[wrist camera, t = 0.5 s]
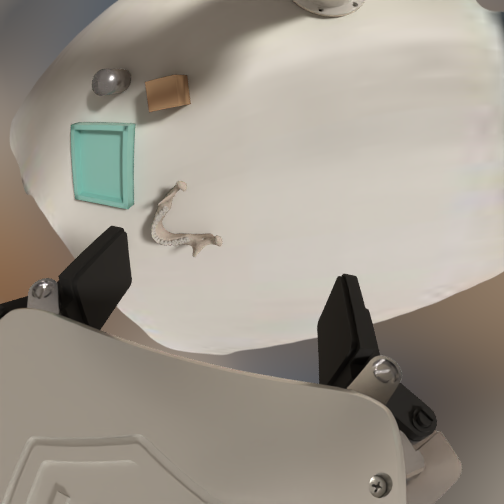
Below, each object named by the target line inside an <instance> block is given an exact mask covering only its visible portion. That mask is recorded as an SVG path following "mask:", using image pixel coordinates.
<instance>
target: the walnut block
mask: <svg viewBox="0 0 504 504" xmlns="http://www.w3.org/2000/svg"><path fill="white" fill-rule="evenodd" d="M145 86H146V93H147V100H148V107H149V112H152V111H157V110H162V109H166V108H171V107H177V106H182V105H187V104H191V103H190V95H189V86H188V78H187V75H171V76H166V77H162V78H158V79H155V80H151V81H147V82H145Z"/></svg>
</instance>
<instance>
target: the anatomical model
mask: <svg viewBox="0 0 504 504" xmlns="http://www.w3.org/2000/svg"><path fill="white" fill-rule="evenodd" d="M176 184H177V185H175V187H174V188H173V189H172V190H171V191H170V192H169V193H168V194H167V195H166V197H165V198H164V199H163V200H162V201H161V202H160V203H158V205H159V206H158V209H157V212H156V214H155V217H154V219H153V223H152V225H151V226H152V228H151V235H152V238H153V239H154V240H155V241H156V242H157V243H160V244H161V245H162V244H163V245H165V246H167V245H169V246H171V245H173V246H177V245H179V244H187V245H191V246H192V248H193V257H196V255H197V254H198V253H199V252H200V251H201V250H202V249H203V248H204V247H205V246H206V245H209V244H214V245H217V246H221V245H222V238H221V237H220V236H216V237H215V236H213V235H212V234H173V233H170V232H168V231H166V230H165V229H164V227H163V225H162V220H163V218H164V217H165V215H166V213H167V212H168V211H169V210H170V209H171V205H172V199H173V197H174V196H175V194H176V192H177V191H178V190H179V189H181V190H183V191H186V189H187V185H186V183H185V182H182V181H178V182H177V183H176Z"/></svg>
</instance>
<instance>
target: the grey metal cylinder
mask: <svg viewBox="0 0 504 504" xmlns="http://www.w3.org/2000/svg"><path fill="white" fill-rule="evenodd" d="M130 83H131V75H130V73H129V71H127V70H126V69H102V70H100V71H98V72H97V73H96V74H95V76H94V78H93V80H92V89H93V91H94V92H95V94H97V95H100V96H102V95H108V94H115V93H122V92H124V91H126V90H127V89H128V87H129V86H130Z"/></svg>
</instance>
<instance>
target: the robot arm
mask: <svg viewBox="0 0 504 504" xmlns="http://www.w3.org/2000/svg"><path fill="white" fill-rule="evenodd" d="M293 1H294V2H295V3H296V4H297V5H299V6H300V7H302V8H303V9H305V10H307V11H309V12H312V13H314V14H318V15H321V16H328V17H338V16H345V15H348V14H351V13H353V12H355V11H356V10H358V9H359V8H360V7H361V6H362V4H363V3H364V2H365V0H293ZM353 5H355V7H354V6H353ZM319 10H322V12H320V11H319ZM131 282H132V277H131V269H130V260H129V251H128V240H127V233H126V232H124V229H123V228H120V227H116V226H110V227H109V228H108V229H107V230H106V231H105V232H104V233H102V234H101V235H100V236H99V237H98V238H97V239H96V240H95V241H94V242H93V243H92V244H90V245H89V246H88V247H87V248H86V249H85V250H84V251H83V252H82V253H81V254H80V255H79V256H78V257H77V258H76V259H75V260H74V261H73V262H72V263H71V264H70V265H69V266H68V267H67V268H66V269H65V270H64V271H63V272H62V273H61V274H60V275H59V281H58V282H56V281H55V280H53V279H49V278H46V279H41V280H38V281H37V282H35V283H34V284H33V285H32V286H31V287H30V289H29V292H28V296H27V297H23V298H19V299H16V300H12V301H9V302H6V303H2V304H0V504H434V503H435V502H436V501H437V500H438V499H439V498H440V497H441V496H442V495H443V494H444V493H445V492H446V491H447V490H448V489H449V488H450V487H451V486H452V485H453V484H454V483H455V482H456V481H457V480H458V478H459V477H460V475H461V472H462V464H461V462H460V460H459V458H458V457H457V455H456V453H455V452H454V450H453V449H452V447H451V446H450V444H449V443H448V441H447V440H446V438H445V437H444V435H443V434H442V432H441V431H439V432H437V431H436V429H435V428H436V426H437V420H436V416H435V414H434V412H433V411H432V410H431V409H430V408H429V407H428V406H427V405H426V404H425V403H423V402H422V401H421V400H420V399H419V398H418V397H416V396H415V395H414V394H413V393H412V392H410V391H409V390H408V389H407V388H406V387H405V386H403V385H402V384H401V383H400V382H401V379H402V372H401V369H400V367H399V365H398V364H397V363H396V362H395V361H394V360H393V359H391V358H389V357H386V356H380V353H379V349H378V345H377V341H376V336H375V332H374V328H373V324H372V320H371V316H370V312H369V310H368V309H366V308H365V305H364V301H363V297H362V294H361V290H360V286H359V283H358V279H357V277H356V276H353V275H348V274H343V275H342V276H338V277H337V279H336V282H335V284H334V286H333V289H332V291H331V294H330V296H329V298H328V301H327V303H326V305H325V307H324V310H323V312H322V314H321V316H320V319H319V321H318V326H317V332H318V352H319V384H316V383H309V382H302V381H296V380H289V379H283V378H278V377H272V376H266V375H260V374H255V373H250V372H245V371H240V370H235V369H231V368H226V367H221V366H217V365H213V364H209V363H205V362H201V361H196V360H193V359H189V358H185V357H182V356H178V355H174V354H171V353H167V352H164V351H160V350H157V349H154V348H151V347H147V346H144V345H141V344H138V343H135V342H132V341H129V340H126V339H123V338H120V337H117V336H115V335H112V334H109V333H106V332H103V331H101V330H100V329H101V328H102V326H103V325H104V323H105V322H106V320H107V319H108V317H109V316H110V314H111V313H112V311H113V310H114V309H115V307H116V306H117V304H118V303H119V301H120V300H121V298H122V297H123V296H124V294H125V293H126V291H127V290H128V289H129V287H130V285H131Z"/></svg>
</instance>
